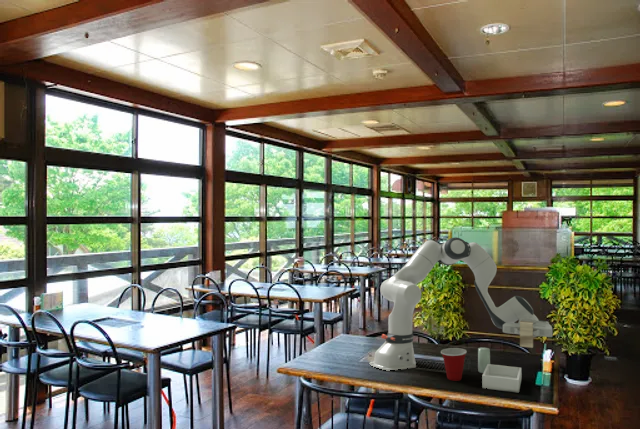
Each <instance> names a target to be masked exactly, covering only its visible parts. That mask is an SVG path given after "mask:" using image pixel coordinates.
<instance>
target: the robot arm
mask: <svg viewBox="0 0 640 429" xmlns="http://www.w3.org/2000/svg"><path fill="white" fill-rule="evenodd" d="M460 261H462V262H464V263H465V264H466V265H467V266H468V268H470V270H471V272H472V273H473V275H474V279H475V280H474V281H473V284H474V287H475V290H476V292H477V294H478V296H479V298H480V300H481V301H482V302H483V305H484V307H485V308H486V311H487V312H488V315H489V317H490V319H491V321H492V323H493V325H494V326H495V327H496V328H498V329H501V330H502V333H505V334H511V335H512V334H513V335H519V336H520V321H529V322H533V338H535V337H546V338H553V327H552V325H551V324H550V322H549V321H546V320H541V319H539V318H538V317H537V316H536V315H535V314H534V307H533V306H532V305H531V303H530V301H528V300H527V299H526V298H525V297H522V296H519V295H514V296H513V297H511V298H510V299H508V300H507V301H506V302H504V303H503V304H501V305H500V306H496V305H495V303H494V301H493V299H492V297H491V296H490V294H489V292H488V288H489V286H490V284H491V282H493V280H494V278H495V277H496V274H497V271H498V270H497V268H498V267H497V264H496V262H495V260H494V259H493V258H492V257H491V255H490V254H489V253H488V252H487V251H486V250H485V249H484V248H483V247H482V246H481V245H480V244H478V243H477V242H473V241H472V242H468V241H465V240H463V239H462V238H460V237H455V236H454V237H452V238H449V239H447V240H446V241H444V242H443V243H442V244H441V243H438V242H437V241H435V240H432V239H430V240H429V239H427V240H426V241H425V242H423V243H422V244H421V245H420V246H419V247H418V248H417V250H416V251H415V252H414V253H413V254H412V256H411V257H410V258H409V259H408V261H407V262H406V263H405V264H404V265H403V266H402V267H401V269H399V270H398V271H397V272H396V273H395V274H393V275H392V276H391V277H389V278H387V279H386V280H383V282H381V285H380V289H379V290H380V294H381V296H382V297H383V298H384V299H385V300H387V301H388V302H393V307H392V310H391V312H390V314H388V320H387V321H388V324H387V326H388V327H387V328H388V332H387V334H384V333H382V334H381V339H384V340H385V341H384V343H382V345H381V346H379V348H378V349H377V350H376V351H375V353H374V360H372V361H370V362H369V364H370V365H371V366H373V367H372V368H374V367H376V368H379V369H382V370H381V371H383V370H386V371H385V372H391V371H390V370H395V371H399V370H398V369H401V370H406V369H407V368H408V369H414V368H416V367H417V365H416V364H417V362H416V358H415V352H414V350H415V349H414V346H413V342H414V333H413V315H414V313H415V312H414V311H415V308H416V305H417V304H418V303H419V302H420V301H421V298H422V290H421V288H420V286H418V285H417V284H419V283H421V282H423V281H424V280H425V279H426V277H428V275H429V273H430V272H431V271H432V269H433V268H434V266H435V265H436V263H440V264H442V265H443V266H452V265H455V264H456V263H458V262H460ZM517 321H518V322H517ZM370 365H369V366H370ZM371 366H370V367H371ZM376 368H375V369H376ZM379 369H378V370H379Z"/></svg>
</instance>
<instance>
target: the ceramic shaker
mask: <svg viewBox="0 0 640 429" xmlns="http://www.w3.org/2000/svg"><path fill="white" fill-rule="evenodd" d="M487 364H491V349H490V348H489V347H478V348H477V369H478V370H477V371H478V372H479V373H481V374H483V373H484V371H485V368H486V366H487Z"/></svg>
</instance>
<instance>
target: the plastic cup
mask: <svg viewBox="0 0 640 429" xmlns="http://www.w3.org/2000/svg"><path fill="white" fill-rule="evenodd" d="M440 354H441V355H442V357H443V362H444V363H443V364H444V368H445V373H446V378H447V380H448V381H454V382H457V381H458V382H460V381H461V380H462V378H463V372H464V365H465V359H466V355H467V349H465V348H460V347H448V348H443V349H441V350H440Z"/></svg>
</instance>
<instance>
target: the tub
mask: <svg viewBox="0 0 640 429" xmlns="http://www.w3.org/2000/svg"><path fill="white" fill-rule="evenodd" d="M522 375H523V374H522V367H518V366H507V365H501V364H491V363H490V364H487V366H486V368H485V371H484V373H482V375H481V376H482V377H481V379H482V381H481V383H482V386H481V387H482V389H486V388H487V389H488V390H493V391H494V390H496V391H502V392H509V393H516V394H517V393H519V392H520V389H521V384H522Z"/></svg>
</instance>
